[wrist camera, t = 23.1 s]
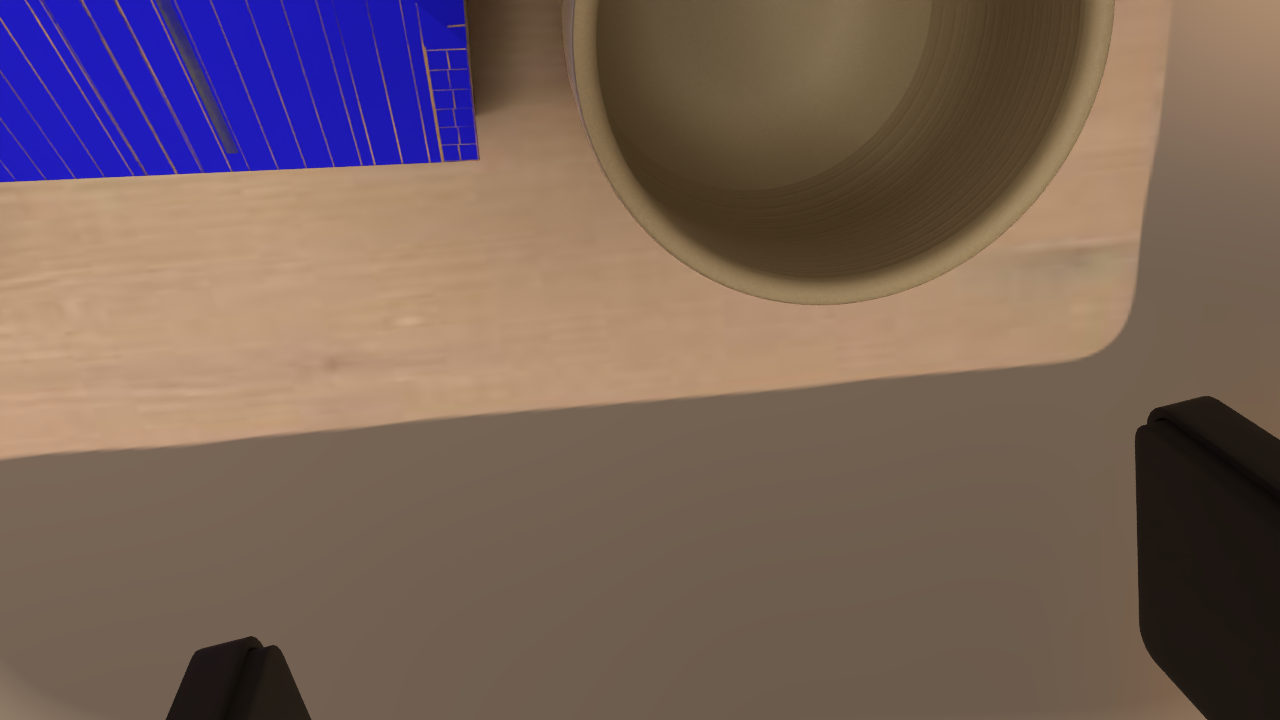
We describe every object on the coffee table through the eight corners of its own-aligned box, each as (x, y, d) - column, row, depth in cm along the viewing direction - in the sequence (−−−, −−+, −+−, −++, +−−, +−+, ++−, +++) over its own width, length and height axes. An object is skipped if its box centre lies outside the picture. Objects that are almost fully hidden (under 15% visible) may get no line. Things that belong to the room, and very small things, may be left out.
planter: (589, 233, 49) (628, 355, 35) (506, -171, 42) (512, -220, 28) (942, 159, 50) (1117, 248, 36) (916, -249, 43) (1118, -334, 29)
